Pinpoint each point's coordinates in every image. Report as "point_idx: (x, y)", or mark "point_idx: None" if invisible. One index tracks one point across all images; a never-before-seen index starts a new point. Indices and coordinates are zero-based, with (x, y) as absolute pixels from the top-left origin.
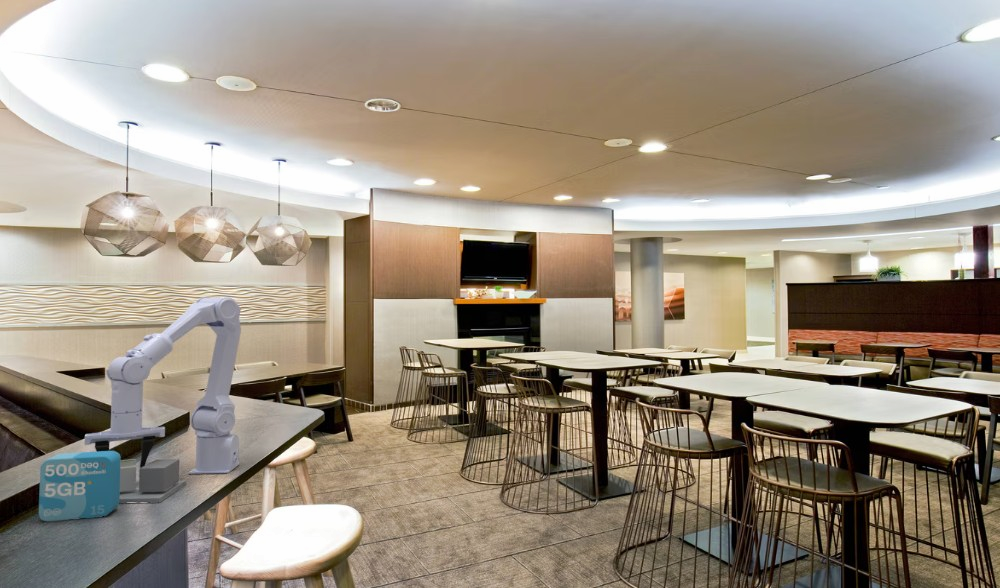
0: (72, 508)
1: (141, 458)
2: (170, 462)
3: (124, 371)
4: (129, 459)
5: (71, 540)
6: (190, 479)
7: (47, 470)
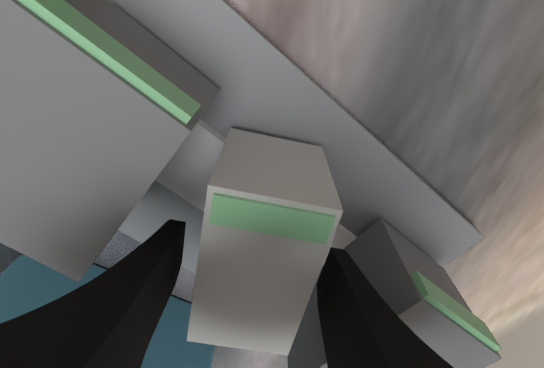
0: None
1: (334, 340)
2: None
3: None
4: (299, 214)
5: None
6: (537, 165)
7: None
